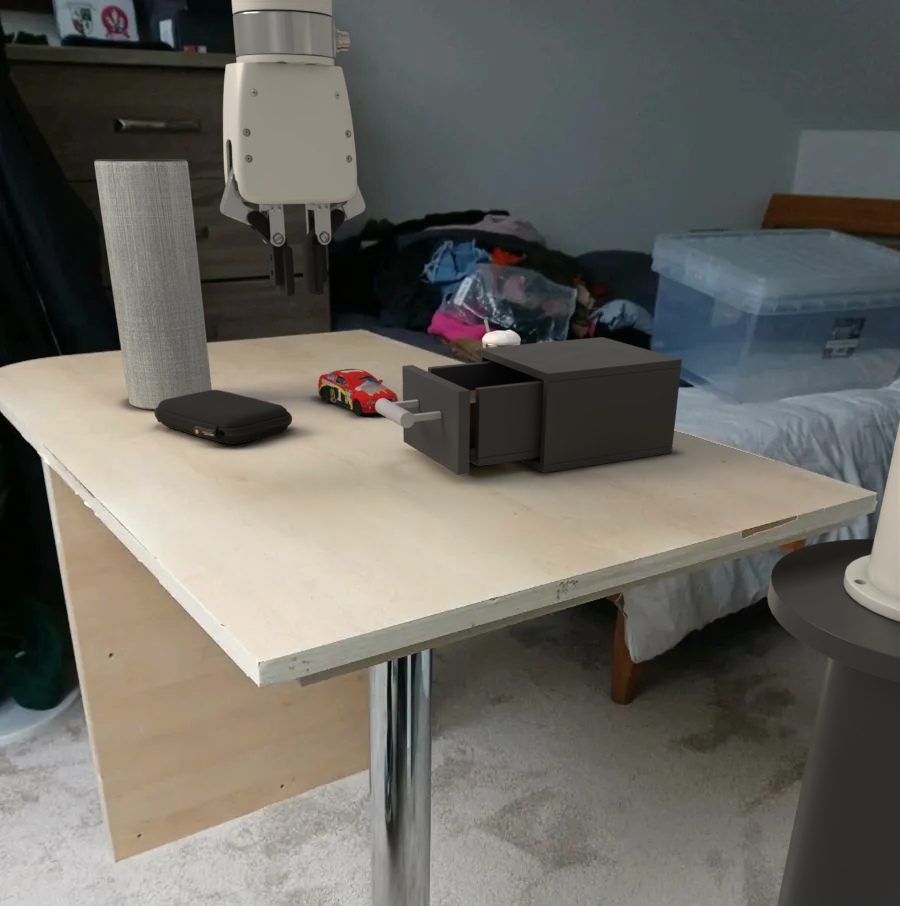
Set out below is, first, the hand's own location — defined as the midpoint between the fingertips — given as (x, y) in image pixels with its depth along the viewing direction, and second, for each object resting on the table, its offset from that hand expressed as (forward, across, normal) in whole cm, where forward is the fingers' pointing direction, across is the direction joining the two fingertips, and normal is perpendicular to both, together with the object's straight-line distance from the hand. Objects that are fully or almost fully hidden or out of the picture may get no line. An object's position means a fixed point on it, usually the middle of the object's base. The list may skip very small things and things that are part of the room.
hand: (299, 292), depth 80 cm
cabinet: (+17, -29, 0) cm, 34 cm away
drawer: (+16, -17, 0) cm, 24 cm away
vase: (+17, +5, -38) cm, 42 cm away
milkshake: (+17, -30, -18) cm, 39 cm away
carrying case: (+17, +3, -22) cm, 28 cm away
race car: (+17, -15, -26) cm, 35 cm away
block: (+15, -18, 0) cm, 23 cm away
